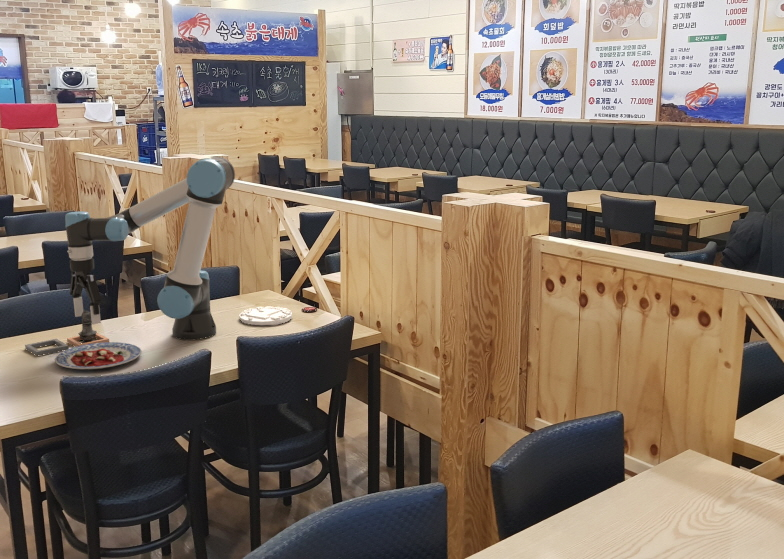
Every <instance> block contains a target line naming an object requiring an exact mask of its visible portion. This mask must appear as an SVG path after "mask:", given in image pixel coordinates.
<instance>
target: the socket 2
mask: <svg viewBox="0 0 784 559" xmlns="http://www.w3.org/2000/svg"><path fill="white" fill-rule="evenodd" d="M94 339H95V341H91V342H86V343H82V344H81V341H80V340H82V339H81V338H80V335H77V336H72V337H67V338H66V343H67V342H69V343H70V344H69V343H68V344H69V345H71V344H72V345H71V346H73V345H74V346H75V347H77V346H81V345H87V344H93V343H104V342H110V338H108V337H106V336H104V335H102V334H100V333H99V332H97V333H96V337H95V338H94ZM74 346H73V347H74Z"/></svg>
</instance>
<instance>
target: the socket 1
mask: <svg viewBox="0 0 784 559" xmlns="http://www.w3.org/2000/svg"><path fill="white" fill-rule="evenodd" d="M51 344H54V345H55V344H56V345H57V346H56V345H55V346H54V347H48V348H45V349H38V348H35V347H39V348H41V347H40V346H44V347H46V346H45V345H49V346H52V345H51ZM24 347H25V350H26V349H27V350H26V351H28V350H29V351H30V352H29V351H28V352H29V353H31V352H32V353H33V354H32V353H31V354H32V355H34V354H35V355H36V356H35V355H34V356H35V357H39V356H38V355H42V356H44V355H43V354H47V355H49V354H48V353H51V354H54V353H53V352H56V353H59V352H58V351H61V352H63V351H62V350H68V349H70V348H69V345H68V344H66V343H65V342H63V341H61V340H59V339H57V338H53V339H48V340H44V341H39V342H33V343H27V344H24Z"/></svg>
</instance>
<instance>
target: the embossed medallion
mask: <svg viewBox="0 0 784 559" xmlns="http://www.w3.org/2000/svg"><path fill="white" fill-rule="evenodd" d="M238 318H239V319H240V320H241V321H242V322H241V321H240V320H239V321H240V322H241V323H243V322H244V323H243V324H246V323H248V324H247V325H249V324H251V325H250V326H278V325H279V324H281V325H282V323H283V324H286V323H285V322H287V323H288V321H290V319H291V320H292V318H293V312H292V310H290V309H289V308H287V307H282V306H275V307H274V306H272V305H267V306H265V307H264V306H256V307H255V308H248V309H244V310H243V311H242V312H240V313H239V315H238Z"/></svg>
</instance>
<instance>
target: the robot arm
mask: <svg viewBox="0 0 784 559" xmlns="http://www.w3.org/2000/svg"><path fill="white" fill-rule="evenodd" d="M235 178H236V170H235V168H234V166H233V164H232V163H231V162H230V161H229V160H228V159H226V158H224V157H220V156H212V157H208V158H207V157H206V158H202V159H199V160H197V161H195V162H194V163H193V164H192V165H191V166H190V168H189V169H188V171H187V173H186V178H184V179H183V180H179V181H178V182H176V183H174V184H173V185H171V186H169V187H166V188H165V189H163V190H161V191H159V192H157V193H155V194H154V195H151V196H150V197H147V198H146V199H144V200H142V201H140V202H138V203H136V204H134V205H132V206H131V207H129V208H127V209H125V210H123V211H120V212H119V213H117V214H114V215H110V216H108V217H98V218H97V217H91V216H90V213H89V212H88V211H82V210H81V211H79V210H78V211H72V212H67V213H66V214H65V217H64V218H65V219H64V220H65V226H64V227H65V230H66V237H67V239H66V240H67V249H68V250H67V251H66V252H67V253H68V258H69V259H70V260H69V268H70V273H71V274H70V275H71V278H70V286H69V287H70V288H69V295H70V296H71V297H72V299H73V307H74V316H75V317H76V318H78V317H82V313H83V312H84V306H83V305H84V304H83V302H84V301H83V293H82V292H83V289H84V290H85V292H86V295H87V298H88V300H89V302H90V303H89V307H90V308H89V309H90V314H91V321H92V325H96V324H97V325H98V324H102V321H101V313H100V312H101V311H100V310H101V309H100V304H102V303H103V300H102V297H101V294H100V290H99V287H98V284H97V279H96V275H95V274H91V271H93V270H94V269H95V259H94V258H93V257H94V249H93V248H94V247H93V242H95V241H97V242H99V241H100V242H102V241H104V242H107V241H108V242H119V241H121V242H122V241H125V240H126V239H127V238H128V236H129V234H132V233H133V232H135V231H136V230H138V229H139V228H142V227H143V226H146V225H148V224H150V223H152V222H153V221H155V220H157V219H159V218H161V217H164V216H165V215H167V214H169V213H171V212H173V211H175V210H177V209H179V208H181V207H183V206H184V205H187V204H188V207H187V211H186V214H185V215H186V216H185V220H184V223H183V228H182V232H181V236H180V240H179V243H178V248H177V253H176V256H175V261H174V265H173V269H171V270H170V271H168V272H167V274H166V278H165V282H164V285H163V288H162V289H161V290H160V291H159V293H158V294H157V299H156V300H157V306H158V308H159V310H160V312H162V314H163V315H165V316H166V317H168V318H171V319H174V322H173V325H172V331H171V332H172V337H174V338H176V339H179V340H185V339H186V340H188V341H189V340H190V341H191V340H193V339H195V340H201V339H200V338H203V339H206V338H205V337H208V338H210V337H209V336H211V337H213V336H215V335H216V334H217V325H216V323H215V320H214V317H213V315H212V312H211V298H210V297H211V294H210V293H211V292H210V277H209V273H208V271H206V270H202V265H203V262H204V258H205V254H206V250H207V247H208V246H207V245H208V242H209V238H210V233H211V230H212V225H213V221H214V218H215V214H216V209H217V208H218V207H220V206H222V205H223V201H224V198H225V194H226V191H227V190H228V189H229V188H230V187H231V186H232V185H233V184H234V181H235ZM75 317H74V318H75ZM215 333H216V334H215ZM214 334H215V335H214ZM212 335H213V336H212ZM186 340H185V341H186Z"/></svg>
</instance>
